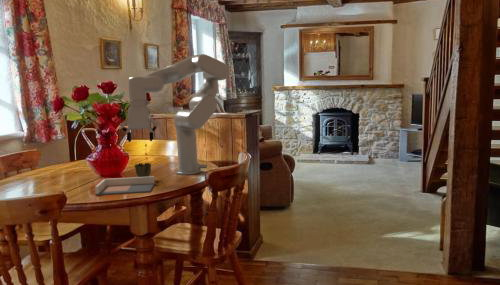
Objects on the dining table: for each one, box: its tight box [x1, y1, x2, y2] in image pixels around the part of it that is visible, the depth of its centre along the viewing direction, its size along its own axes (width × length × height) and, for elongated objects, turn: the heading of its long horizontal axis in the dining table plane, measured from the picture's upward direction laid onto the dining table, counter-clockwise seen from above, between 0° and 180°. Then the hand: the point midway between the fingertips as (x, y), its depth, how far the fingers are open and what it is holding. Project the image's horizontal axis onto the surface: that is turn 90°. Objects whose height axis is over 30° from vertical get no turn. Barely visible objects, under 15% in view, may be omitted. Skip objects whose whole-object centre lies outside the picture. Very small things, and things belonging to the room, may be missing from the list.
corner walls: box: [94, 175, 156, 195], centre depth 185 cm, size 22×15×3 cm
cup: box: [134, 162, 152, 177], centre depth 201 cm, size 8×7×8 cm
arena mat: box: [95, 183, 156, 196], centre depth 186 cm, size 22×15×1 cm
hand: (140, 141), depth 199 cm, fingers open, 9 cm apart
